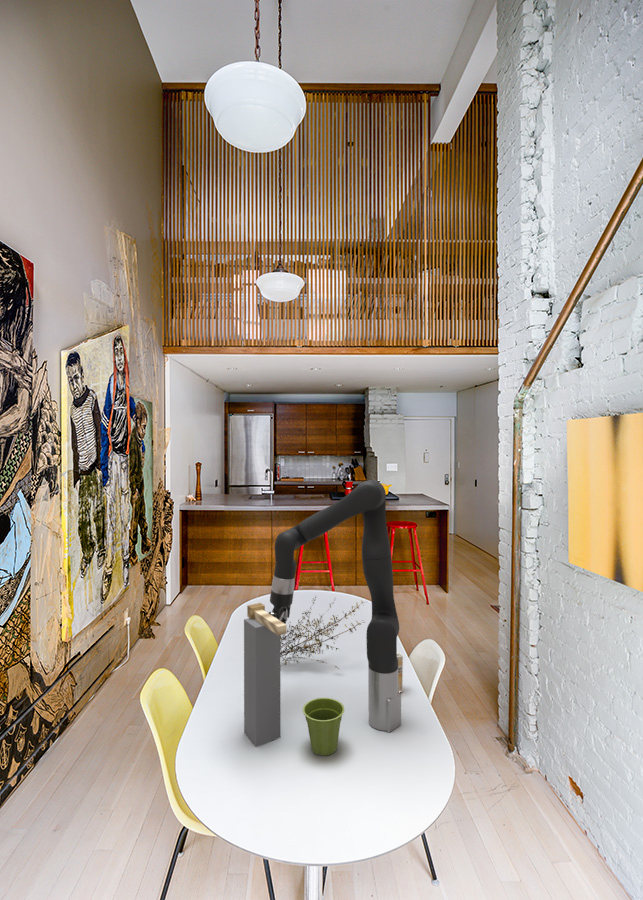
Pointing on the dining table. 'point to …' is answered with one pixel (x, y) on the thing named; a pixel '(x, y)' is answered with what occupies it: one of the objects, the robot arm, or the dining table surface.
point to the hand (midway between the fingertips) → (276, 636)
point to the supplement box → (400, 671)
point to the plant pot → (323, 724)
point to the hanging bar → (266, 618)
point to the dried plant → (311, 636)
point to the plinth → (261, 683)
